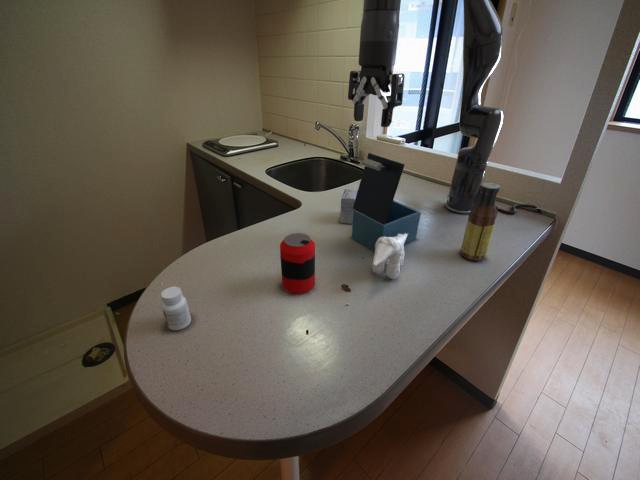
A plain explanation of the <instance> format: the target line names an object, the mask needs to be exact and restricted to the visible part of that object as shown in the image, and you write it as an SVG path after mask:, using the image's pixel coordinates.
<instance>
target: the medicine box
mask: <svg viewBox="0 0 640 480" xmlns="http://www.w3.org/2000/svg"><path fill="white" fill-rule="evenodd" d="M357 192H358V189H353V188H351V189H350V188H345V189H344V191H343V193H342V196H341V198H340V214H339V215H340V218H339V219H340V220H339V223H341V224H349V225H353V212H354V209H353V206H354V203H355V199H356V196H357Z"/></svg>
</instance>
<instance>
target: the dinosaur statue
mask: <svg viewBox="0 0 640 480" xmlns="http://www.w3.org/2000/svg"><path fill="white" fill-rule="evenodd" d="M407 235H408V234H406V233H404V234H398V235H397V236H395V237H380V238H378V240H377V242H376V244H375V252H374V254H373V255H374V256H373V259H372V260H371V270H372V272H373V273H374V274H376V275H379V274H382V273H383V271H384V270H385V265H386V276H387V277H388V279H391V280H396V279H397V278H398V277H399V276H400V273H401V268H402V267H403V266H404V260H405V255H406V253H405V245H404V242H405V240H406V238H407Z"/></svg>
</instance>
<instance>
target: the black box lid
mask: <svg viewBox="0 0 640 480" xmlns="http://www.w3.org/2000/svg"><path fill="white" fill-rule="evenodd" d="M405 165H406V164H405V163H401V162H399V161H395V160H393V159H390V158H387V157H384V156H380V155H377V154H374V153H371V152H368V153H367V156H366V158H364V159H363V160H362V166H364V167H363V171H362V175H361V178H360V182H359V186H358V188H357V190H358V192H357V196H356V199H355V203H354V206H353V209H354V210H356V211H358V212H360V213H362V214H364V215H366V216H368V217H370V218H371V219H373V220H375V221H377V222H379V223H381V224H383V225H385V224H386V221H387V218H388V215H389V212H390V209H391V205H392V202H393V200H394V199H395V195H396V193H397V189H398V187H399V184H400V181H401V178H402V174H403V172H404V168H405Z"/></svg>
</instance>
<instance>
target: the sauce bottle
mask: <svg viewBox="0 0 640 480" xmlns="http://www.w3.org/2000/svg"><path fill="white" fill-rule="evenodd" d="M500 188H501V187H500V185H499V184H497V183H492V182H482V184H481V187H480V195H479V198H478V201H477V203H476V204H475V205H474V206H473V207H472V208H471V211H470V213H469V214H468V218H467V222H466V226H465V230H464V234H463V238H462V239H463V240H462V243H461V248H460V249H461V250H460V253H461V255H462V256H463V258H465V259H467V260H470V261H474V262H478V261H483V260H485V258H486V255H487V253H488V250H489V247H490V243H491V240H492V237H493V233H494V229H495V226H496V219H497V216H498V210H497V209H496V206H497V205H496V200H497V197H498V193H499V192H500V190H501V189H500Z"/></svg>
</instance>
